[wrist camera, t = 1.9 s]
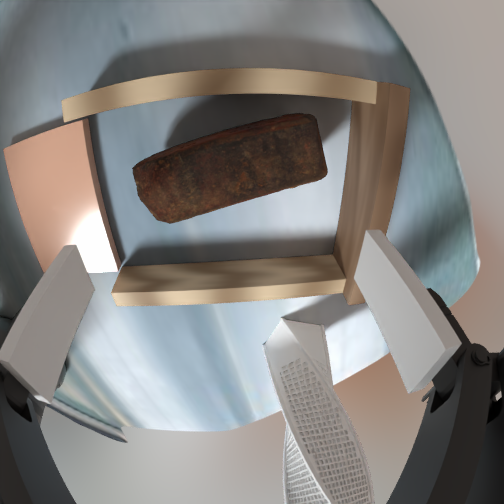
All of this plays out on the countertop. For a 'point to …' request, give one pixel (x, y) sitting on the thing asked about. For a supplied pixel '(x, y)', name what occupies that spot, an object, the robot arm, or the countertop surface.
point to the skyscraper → (314, 421)
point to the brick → (231, 167)
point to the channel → (353, 199)
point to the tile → (62, 196)
